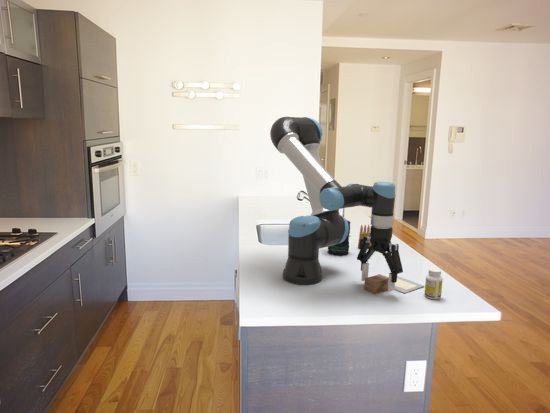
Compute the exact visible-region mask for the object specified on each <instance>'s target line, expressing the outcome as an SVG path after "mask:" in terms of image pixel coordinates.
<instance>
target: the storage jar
mask: <svg viewBox="0 0 550 413" xmlns="http://www.w3.org/2000/svg"><path fill="white" fill-rule="evenodd" d="M347 222H348V225H349V232H348V235H347V237H346V239H345V240H344V241H343V242H342V243H339V244H337V245H334V246H328V247H327V254H329V255H331V256H335V257H343V256H344V257H345V256H348V255H349V254H350V253H349V252H350V251H349V250H350V242H349V241H350V234H351V233H350V232H351V221H350V220H347Z"/></svg>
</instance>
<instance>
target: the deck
mask: <svg viewBox="0 0 550 413" xmlns="http://www.w3.org/2000/svg"><path fill="white" fill-rule="evenodd" d="M388 280H389V276H386V275H383V274H376V275H372V276H368V278H365V281H364V284H363V290H364V291H367V292H368V293H371V294H373V295H377V294H381V293H384V292H386V291H387V292H388Z"/></svg>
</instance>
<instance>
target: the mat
mask: <svg viewBox="0 0 550 413" xmlns="http://www.w3.org/2000/svg"><path fill="white" fill-rule="evenodd" d="M422 288H425V285H423V284H422V283H419V282H415V281H412V280H410V279H407V278H404V277H402V276H399V275H397V282H395V289H394V290H393V291H396V292H399V293H402V294H407V293H411V292H414V291H417V290H419V289H422Z"/></svg>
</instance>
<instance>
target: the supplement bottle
mask: <svg viewBox="0 0 550 413" xmlns="http://www.w3.org/2000/svg"><path fill="white" fill-rule="evenodd" d="M441 274H442V269H439V268H437V267H436V268H435V267H430V268H428V274H427V275H426V276H425V285H424V286H425V287H424V296H425V297H426V298H427V299H430V300H440V299H441V298H442V288H443V280H444V279H443V277H442V275H441Z"/></svg>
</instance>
